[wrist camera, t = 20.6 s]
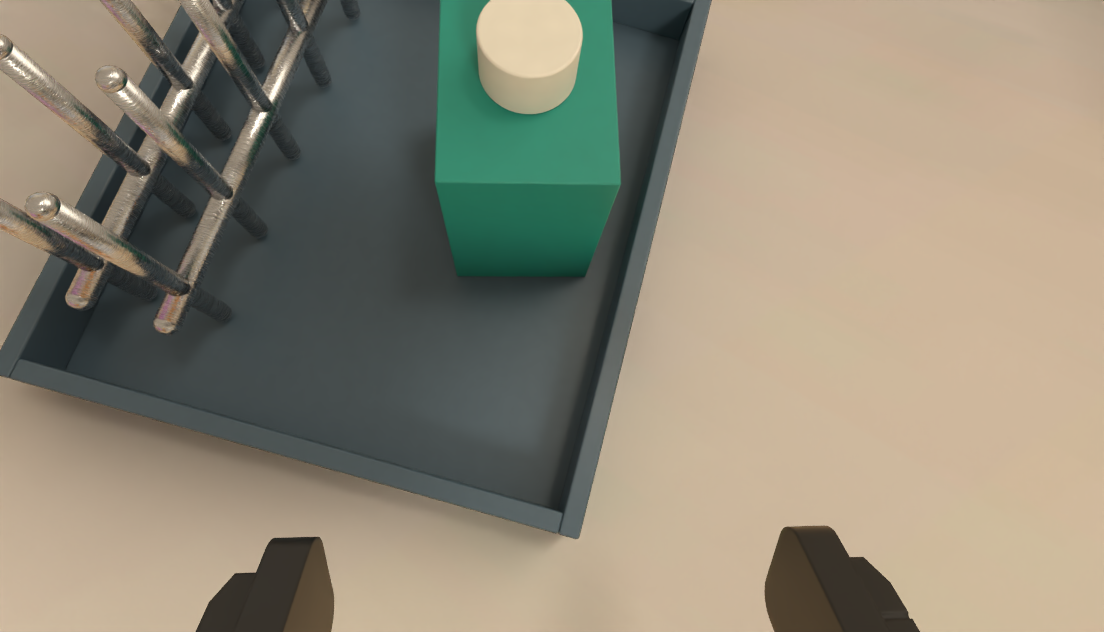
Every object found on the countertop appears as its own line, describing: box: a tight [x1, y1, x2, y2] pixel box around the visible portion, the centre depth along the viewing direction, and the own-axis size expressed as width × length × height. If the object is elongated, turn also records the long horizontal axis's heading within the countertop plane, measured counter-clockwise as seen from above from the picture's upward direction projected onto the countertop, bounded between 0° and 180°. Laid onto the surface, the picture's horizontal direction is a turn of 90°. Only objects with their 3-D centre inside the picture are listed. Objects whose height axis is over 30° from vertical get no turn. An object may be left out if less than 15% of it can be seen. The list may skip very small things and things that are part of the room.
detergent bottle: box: [434, 0, 621, 277], centre depth 18 cm, size 4×6×8 cm
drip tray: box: [0, 0, 712, 539], centre depth 21 cm, size 17×19×3 cm
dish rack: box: [0, 0, 361, 335], centre depth 18 cm, size 3×15×9 cm, turn 165°
